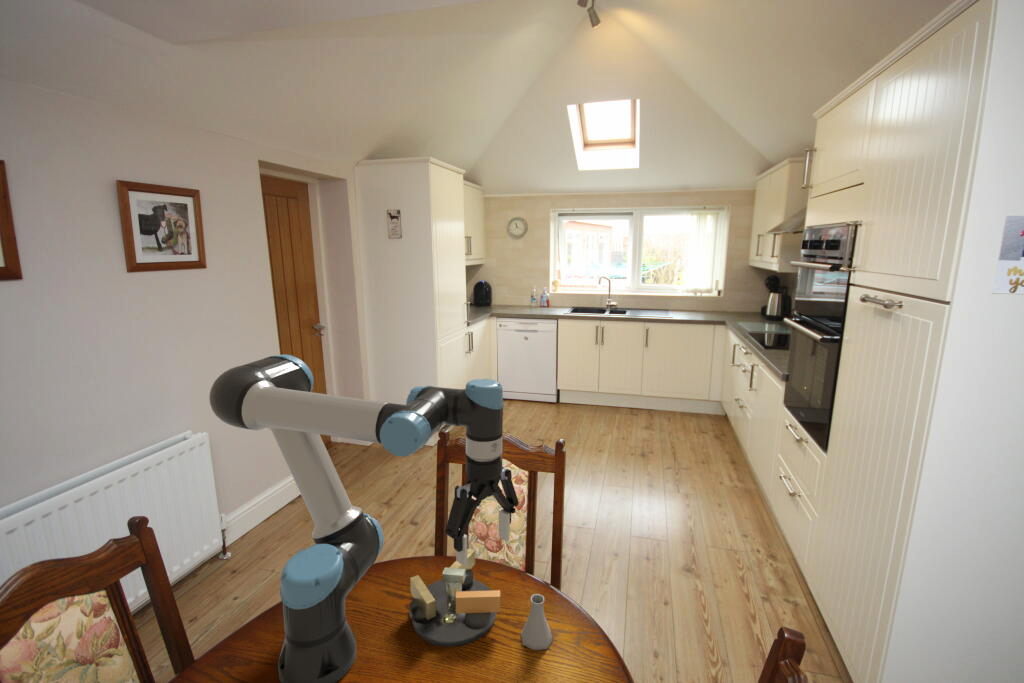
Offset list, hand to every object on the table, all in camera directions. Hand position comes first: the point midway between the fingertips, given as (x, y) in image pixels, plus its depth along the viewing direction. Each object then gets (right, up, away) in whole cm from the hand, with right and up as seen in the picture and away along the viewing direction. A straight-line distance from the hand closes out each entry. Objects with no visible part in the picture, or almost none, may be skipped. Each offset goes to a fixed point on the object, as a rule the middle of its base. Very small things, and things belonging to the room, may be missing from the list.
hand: (483, 550), depth 101 cm
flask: (+12, -22, +4) cm, 25 cm away
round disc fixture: (-8, -20, +13) cm, 25 cm away
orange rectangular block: (-2, -19, +7) cm, 20 cm away
